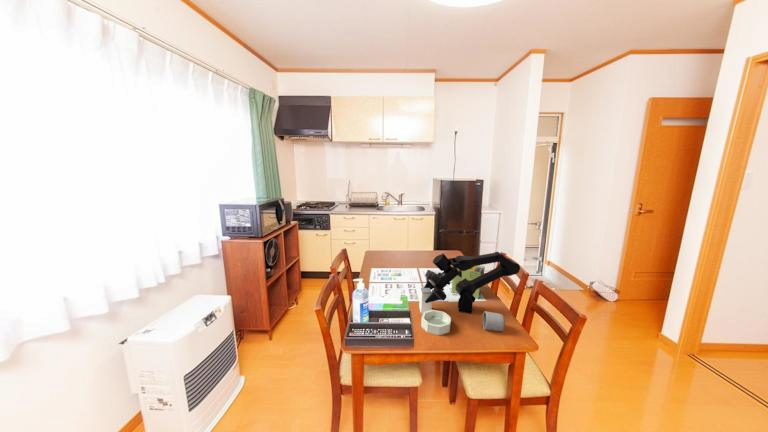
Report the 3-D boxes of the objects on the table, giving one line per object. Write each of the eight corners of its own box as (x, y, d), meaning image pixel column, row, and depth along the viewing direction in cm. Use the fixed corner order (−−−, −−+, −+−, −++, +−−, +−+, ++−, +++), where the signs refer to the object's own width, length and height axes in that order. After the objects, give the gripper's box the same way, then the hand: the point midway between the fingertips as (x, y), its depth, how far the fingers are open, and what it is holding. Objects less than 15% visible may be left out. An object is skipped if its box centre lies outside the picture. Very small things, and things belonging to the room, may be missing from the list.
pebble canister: (428, 307, 135) (429, 287, 133) (431, 313, 130) (432, 292, 128) (419, 307, 135) (420, 287, 132) (421, 313, 130) (422, 292, 128)
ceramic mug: (505, 335, 114) (506, 318, 112) (485, 333, 115) (486, 316, 114) (498, 321, 124) (500, 306, 123) (480, 319, 125) (481, 304, 124)
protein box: (479, 299, 144) (481, 272, 141) (451, 292, 152) (452, 266, 149) (483, 291, 152) (485, 266, 149) (456, 285, 160) (458, 260, 157)
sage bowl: (451, 320, 124) (451, 313, 123) (448, 337, 112) (449, 328, 111) (424, 315, 128) (425, 308, 127) (419, 330, 116) (419, 322, 115)
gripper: (431, 258, 137) (409, 279, 139) (441, 273, 119) (415, 296, 120) (445, 272, 139) (423, 292, 141) (457, 289, 121) (432, 311, 122)
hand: (423, 297), depth 131 cm, fingers open, 9 cm apart
